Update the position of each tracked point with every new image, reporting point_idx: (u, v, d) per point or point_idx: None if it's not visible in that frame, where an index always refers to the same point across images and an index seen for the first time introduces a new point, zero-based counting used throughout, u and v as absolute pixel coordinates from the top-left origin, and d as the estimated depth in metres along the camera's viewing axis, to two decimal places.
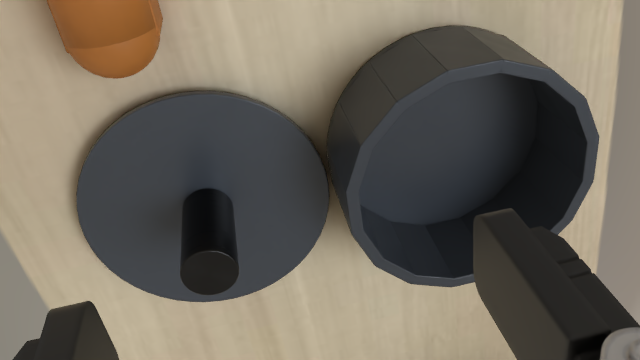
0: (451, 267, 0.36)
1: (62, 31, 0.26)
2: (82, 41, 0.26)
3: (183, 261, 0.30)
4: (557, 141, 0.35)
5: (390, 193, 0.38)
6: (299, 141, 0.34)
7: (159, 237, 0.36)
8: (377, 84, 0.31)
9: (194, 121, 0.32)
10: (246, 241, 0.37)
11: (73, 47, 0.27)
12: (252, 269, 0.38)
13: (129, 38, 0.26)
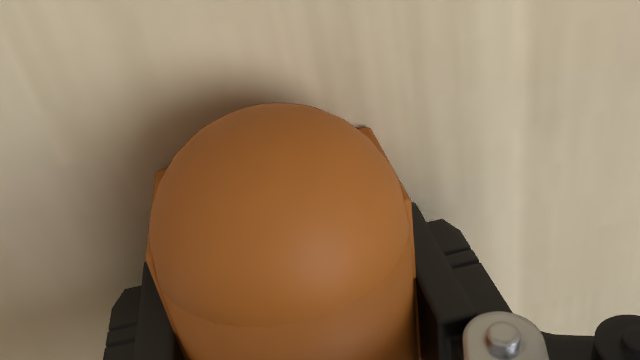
0: None
1: None
2: None
3: None
4: None
5: None
6: None
7: None
8: None
9: None
10: None
11: None
12: None
13: None
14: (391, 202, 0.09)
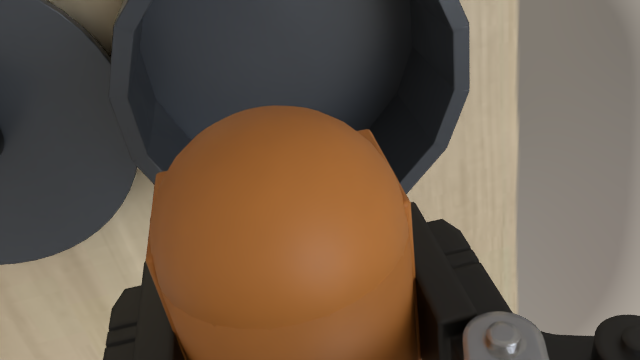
0: None
1: None
2: None
3: None
4: (429, 43, 0.26)
5: None
6: (78, 42, 0.25)
7: None
8: None
9: None
10: (33, 183, 0.28)
11: None
12: (50, 221, 0.30)
13: None
14: (391, 204, 0.09)
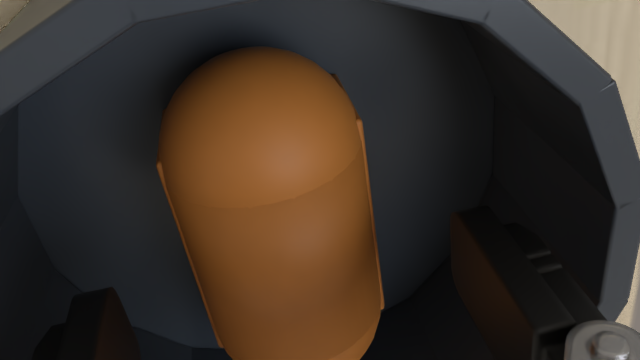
0: None
1: (222, 330, 0.14)
2: (264, 357, 0.14)
3: None
4: (537, 190, 0.14)
5: (179, 295, 0.17)
6: None
7: None
8: None
9: None
10: None
11: (241, 359, 0.14)
12: None
13: (350, 343, 0.14)
14: (344, 118, 0.12)
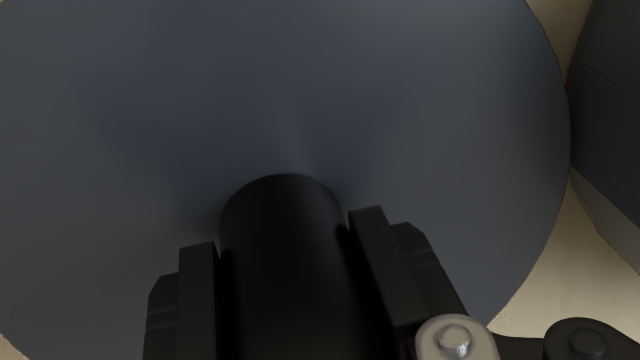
0: None
1: None
2: None
3: None
4: None
5: None
6: (529, 49, 0.13)
7: None
8: None
9: None
10: None
11: None
12: None
13: None
14: None
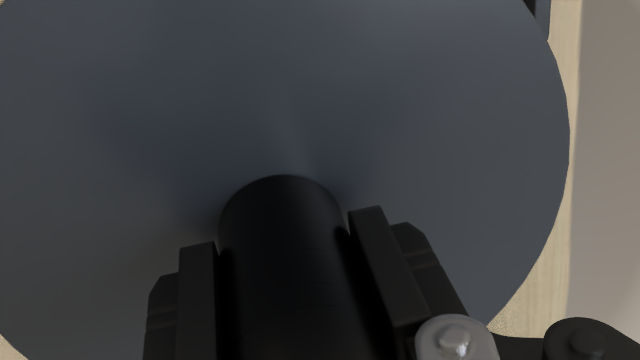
0: None
1: None
2: None
3: None
4: None
5: None
6: (527, 51, 0.13)
7: None
8: None
9: None
10: None
11: None
12: None
13: None
14: None
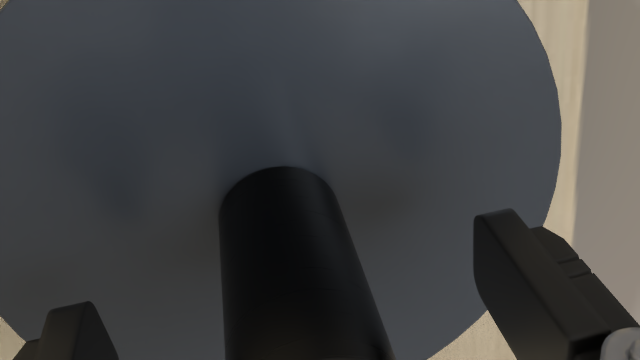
0: None
1: None
2: None
3: None
4: None
5: None
6: (519, 45, 0.13)
7: (160, 285, 0.15)
8: None
9: None
10: None
11: None
12: None
13: None
14: None
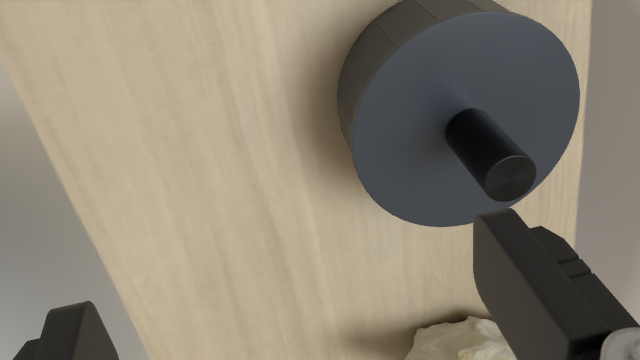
0: None
1: None
2: None
3: (490, 166, 0.31)
4: None
5: None
6: (564, 62, 0.36)
7: (417, 158, 0.37)
8: (381, 38, 0.36)
9: (478, 39, 0.34)
10: None
11: None
12: None
13: None
14: None
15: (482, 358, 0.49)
